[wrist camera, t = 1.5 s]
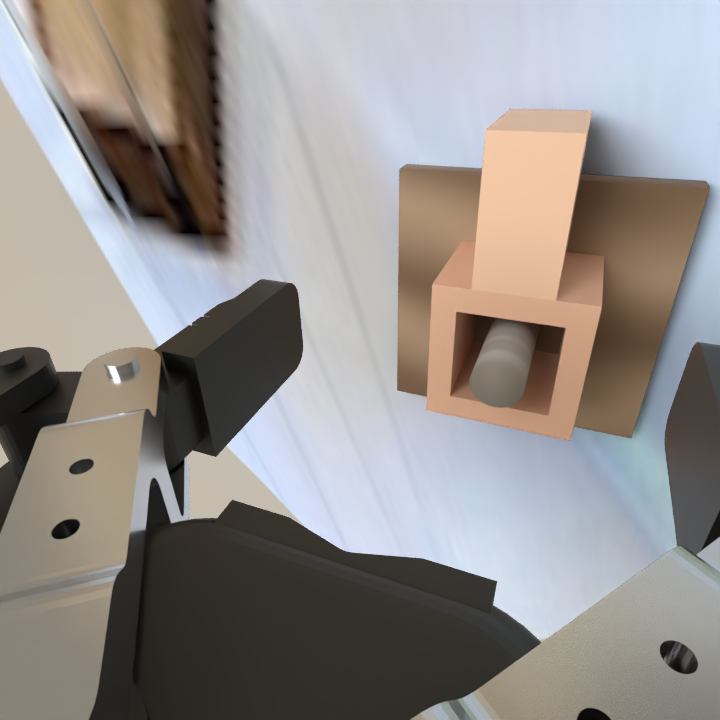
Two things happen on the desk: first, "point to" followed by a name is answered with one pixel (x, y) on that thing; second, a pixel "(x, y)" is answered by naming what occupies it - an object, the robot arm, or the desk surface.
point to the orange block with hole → (521, 274)
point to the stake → (587, 236)
